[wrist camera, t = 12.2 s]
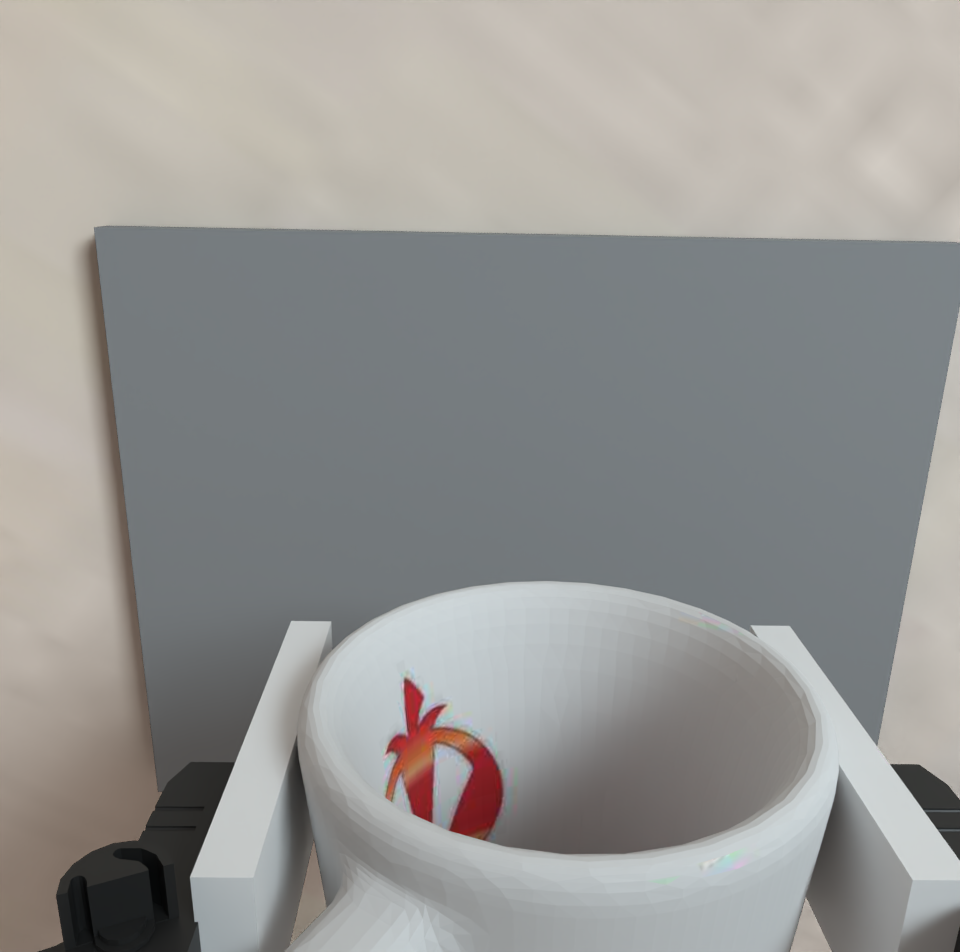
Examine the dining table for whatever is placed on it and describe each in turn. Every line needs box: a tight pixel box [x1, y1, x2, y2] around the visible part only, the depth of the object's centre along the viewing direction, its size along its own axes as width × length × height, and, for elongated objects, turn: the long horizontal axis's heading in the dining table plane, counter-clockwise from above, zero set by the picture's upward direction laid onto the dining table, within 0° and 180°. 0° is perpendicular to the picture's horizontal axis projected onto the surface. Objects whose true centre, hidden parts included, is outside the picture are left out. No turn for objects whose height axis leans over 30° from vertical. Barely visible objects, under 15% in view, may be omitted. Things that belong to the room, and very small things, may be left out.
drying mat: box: [94, 226, 960, 792], centre depth 24 cm, size 21×16×1 cm
